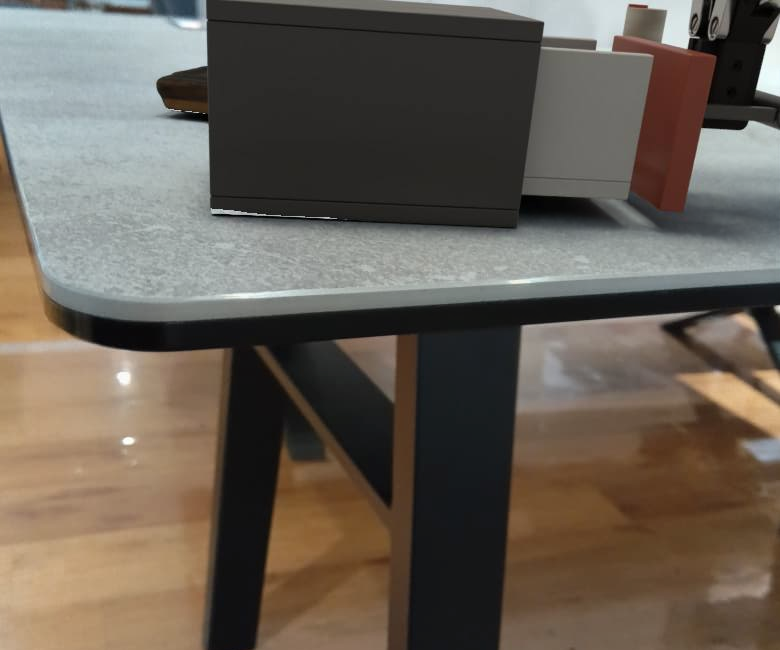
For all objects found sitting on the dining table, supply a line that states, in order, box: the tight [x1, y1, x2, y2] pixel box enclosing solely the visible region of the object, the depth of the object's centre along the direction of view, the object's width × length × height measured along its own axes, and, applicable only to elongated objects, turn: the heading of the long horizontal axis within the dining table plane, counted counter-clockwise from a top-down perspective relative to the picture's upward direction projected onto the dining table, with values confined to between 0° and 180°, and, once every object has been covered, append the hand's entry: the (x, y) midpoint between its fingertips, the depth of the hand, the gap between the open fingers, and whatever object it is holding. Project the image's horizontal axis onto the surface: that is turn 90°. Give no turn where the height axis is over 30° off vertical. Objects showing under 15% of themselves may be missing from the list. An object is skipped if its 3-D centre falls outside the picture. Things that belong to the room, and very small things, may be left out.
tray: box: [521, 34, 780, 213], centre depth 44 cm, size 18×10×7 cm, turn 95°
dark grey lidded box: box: [205, 0, 545, 229], centre depth 42 cm, size 14×12×9 cm
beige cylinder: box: [621, 3, 668, 43], centre depth 91 cm, size 4×4×6 cm
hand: (709, 125), depth 44 cm, fingers closed
